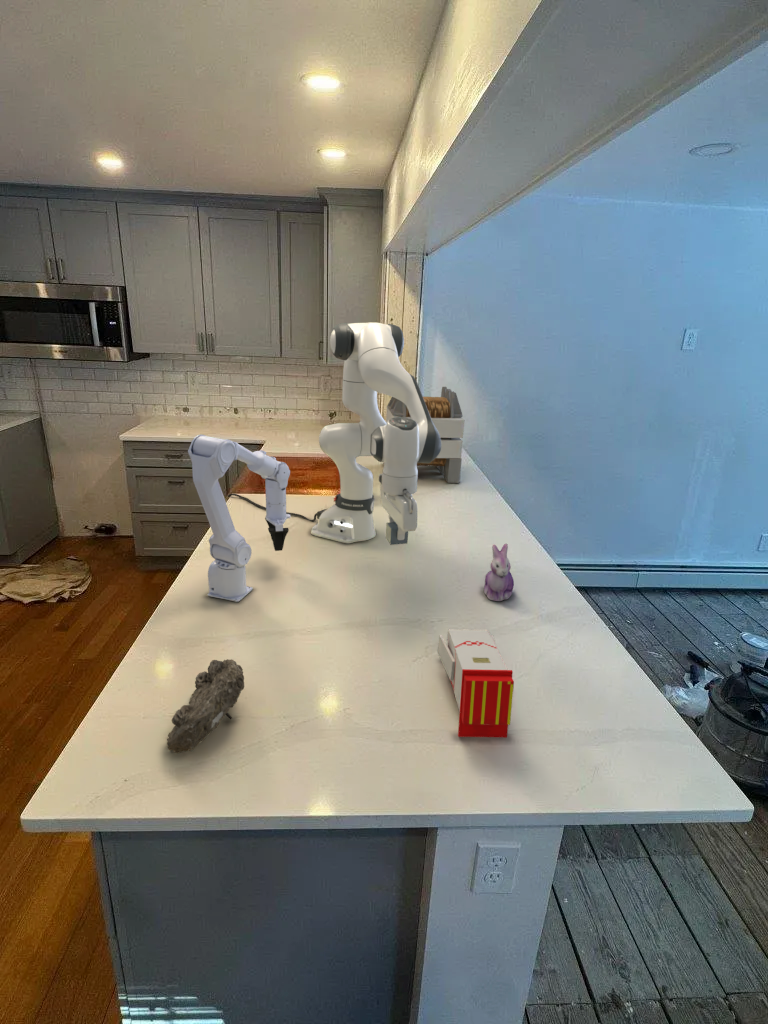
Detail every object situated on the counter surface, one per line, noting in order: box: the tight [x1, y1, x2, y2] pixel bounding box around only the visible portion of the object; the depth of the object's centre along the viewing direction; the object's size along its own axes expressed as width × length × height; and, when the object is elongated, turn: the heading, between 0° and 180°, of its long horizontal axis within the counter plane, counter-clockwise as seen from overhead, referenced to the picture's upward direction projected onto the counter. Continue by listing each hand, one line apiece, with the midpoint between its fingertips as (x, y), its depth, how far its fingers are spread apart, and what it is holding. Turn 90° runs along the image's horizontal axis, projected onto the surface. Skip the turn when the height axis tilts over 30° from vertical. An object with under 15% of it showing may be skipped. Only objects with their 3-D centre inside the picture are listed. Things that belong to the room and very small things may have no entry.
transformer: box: [382, 386, 465, 484], centre depth 268 cm, size 34×33×41 cm
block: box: [385, 521, 409, 546], centre depth 147 cm, size 4×5×4 cm
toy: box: [437, 628, 515, 738], centre depth 117 cm, size 12×13×30 cm
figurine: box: [483, 543, 515, 602], centre depth 157 cm, size 9×10×15 cm
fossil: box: [166, 658, 245, 754], centre depth 106 cm, size 22×10×15 cm
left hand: (277, 545), depth 167 cm, fingers open, 7 cm apart
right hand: (396, 534), depth 147 cm, fingers closed on block, 4 cm apart
